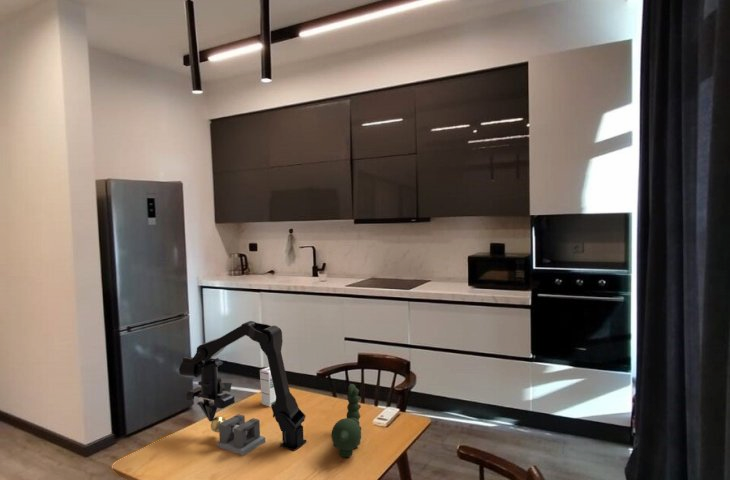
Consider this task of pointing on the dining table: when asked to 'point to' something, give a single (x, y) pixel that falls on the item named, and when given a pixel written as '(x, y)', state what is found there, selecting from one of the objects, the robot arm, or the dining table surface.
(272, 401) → the syrup box
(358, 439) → the toy figurine
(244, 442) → the bearing bracket
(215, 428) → the shaft
